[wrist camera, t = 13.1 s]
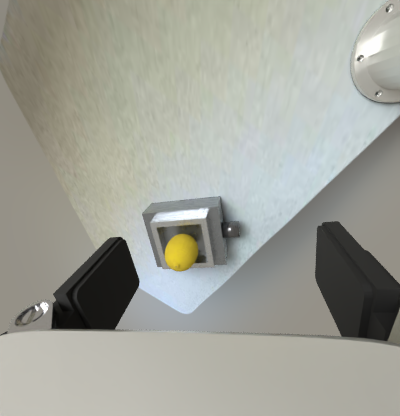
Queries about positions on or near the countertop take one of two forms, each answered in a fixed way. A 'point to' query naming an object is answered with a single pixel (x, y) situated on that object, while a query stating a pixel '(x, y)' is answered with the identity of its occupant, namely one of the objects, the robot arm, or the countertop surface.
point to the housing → (190, 229)
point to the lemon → (181, 252)
